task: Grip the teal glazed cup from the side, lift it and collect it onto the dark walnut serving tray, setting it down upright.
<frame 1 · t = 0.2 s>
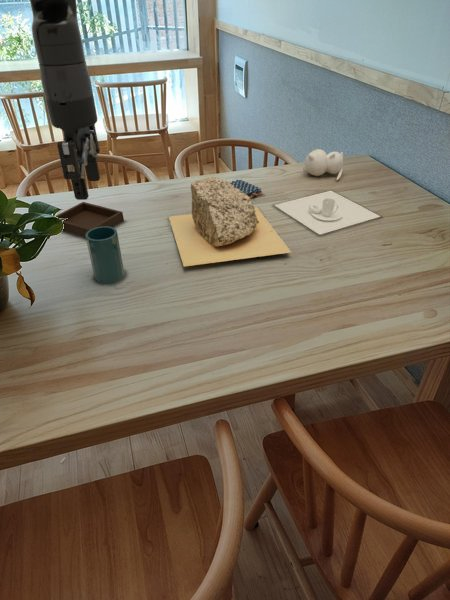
hand: (88, 189, 82), 20 cm above the table, tool pointing down, fingers open, 8 cm apart
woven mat: (238, 194, 130), on the table
cat figurine: (323, 176, 140), on the table
tray: (88, 224, 115), on the table
cup: (109, 275, 95), on the table
rock: (224, 236, 109), on the table
teacup and saucer: (325, 211, 120), on the table
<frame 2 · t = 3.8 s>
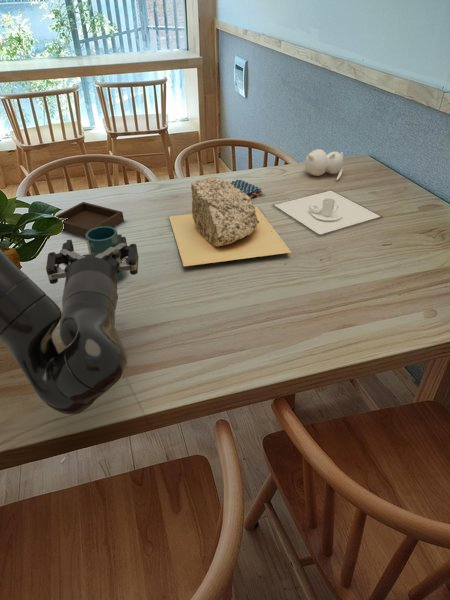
hand: (95, 241, 78), 14 cm above the table, tool horizontal, fingers open, 8 cm apart
nothing on the table moved.
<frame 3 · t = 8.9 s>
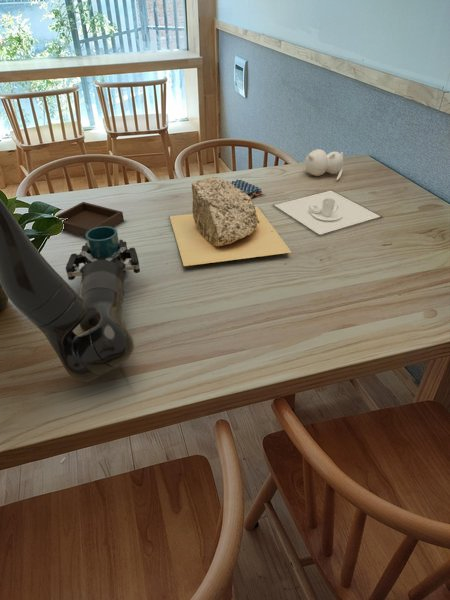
hand: (104, 245, 94), 6 cm above the table, tool horizontal, fingers closed on cup, 6 cm apart
cup: (109, 275, 95), on the table, touching gripper
everything else where it was.
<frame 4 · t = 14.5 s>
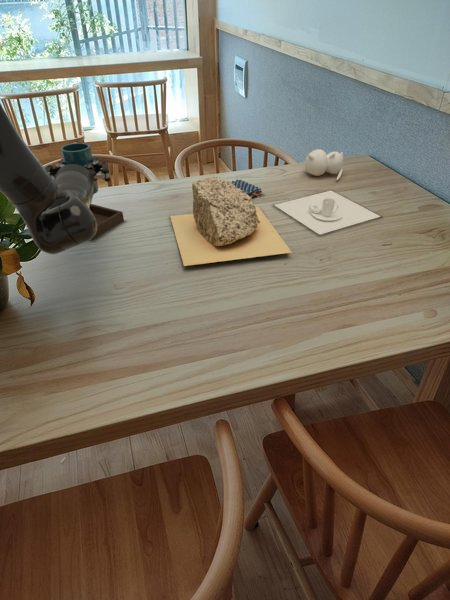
hand: (79, 162, 101), 18 cm above the table, tool horizontal, fingers closed on cup, 6 cm apart
cup: (84, 191, 102), point 12 cm above the table, touching gripper
everything else where it was.
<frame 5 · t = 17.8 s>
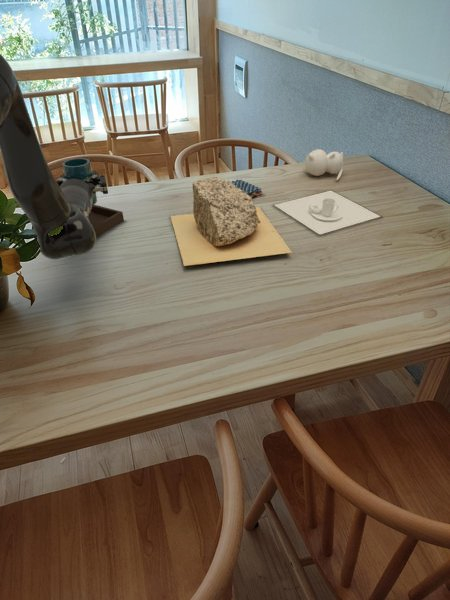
hand: (80, 175, 110), 12 cm above the table, tool horizontal, fingers closed on cup, 6 cm apart
cup: (84, 202, 111), point 6 cm above the table, touching gripper
everything else where it was.
when the fingers open (7 cm above the table, at t = 20.3 s): cup stays where it is, resting on tray.
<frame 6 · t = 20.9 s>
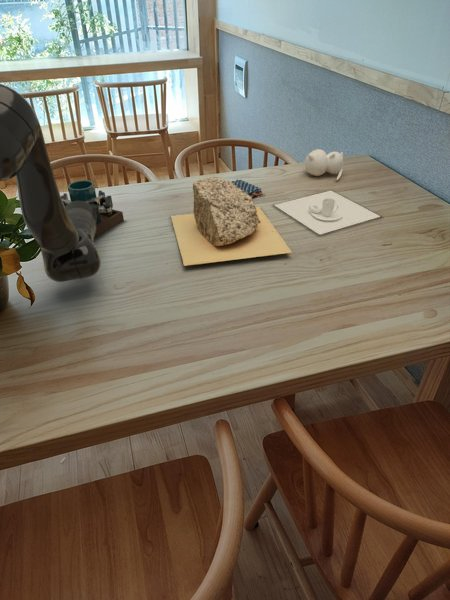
hand: (83, 195, 112), 7 cm above the table, tool horizontal, fingers open, 8 cm apart
cup: (88, 222, 115), point 1 cm above the table, touching tray
everything else where it was.
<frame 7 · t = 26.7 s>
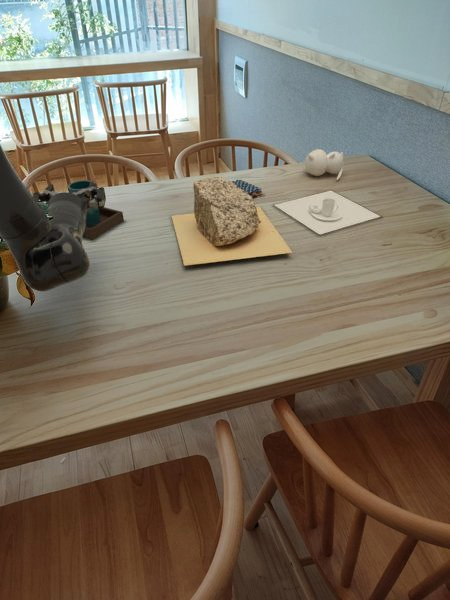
hand: (72, 186, 98), 14 cm above the table, tool horizontal, fingers open, 8 cm apart
nothing on the table moved.
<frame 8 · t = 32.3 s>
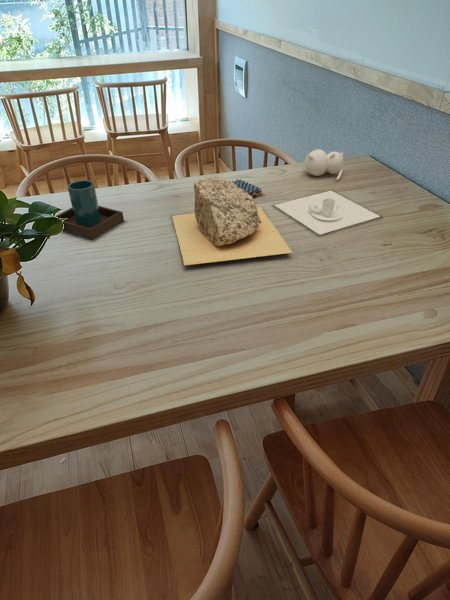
nothing on the table moved.
at the end: cup inside the target area in the tray (0.1 cm from its centre), point 0.6 cm above the tray's base; cup tilted 0°; the gripper is holding nothing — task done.
